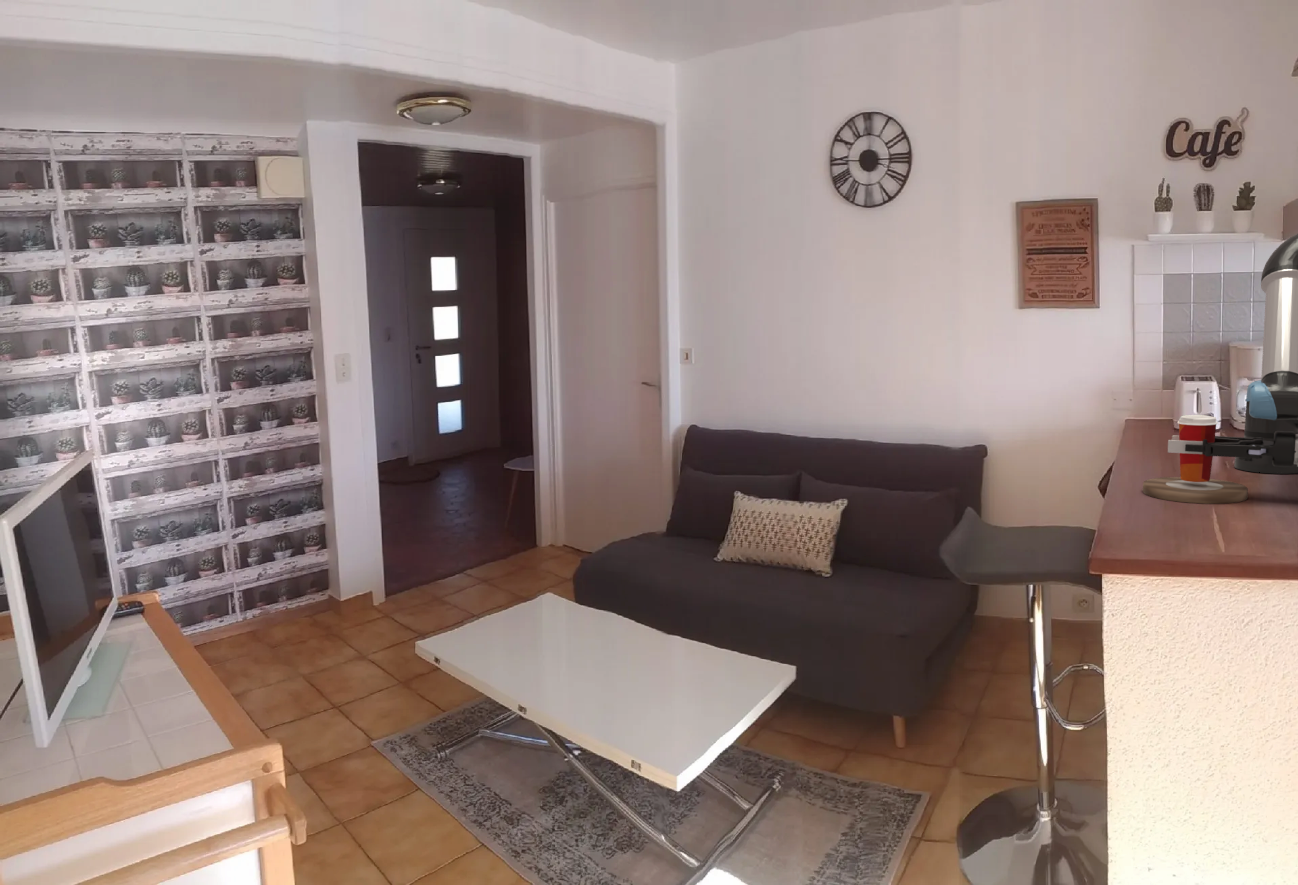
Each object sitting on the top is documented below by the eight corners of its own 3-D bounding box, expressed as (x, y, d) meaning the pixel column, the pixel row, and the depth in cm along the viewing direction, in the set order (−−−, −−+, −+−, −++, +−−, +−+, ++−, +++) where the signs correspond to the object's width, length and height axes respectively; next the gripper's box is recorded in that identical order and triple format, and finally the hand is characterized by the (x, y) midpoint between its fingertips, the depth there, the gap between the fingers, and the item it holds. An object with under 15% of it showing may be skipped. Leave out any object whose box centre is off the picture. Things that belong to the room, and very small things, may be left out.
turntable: (1148, 482, 217) (1149, 474, 217) (1249, 489, 205) (1249, 480, 205) (1136, 498, 201) (1137, 489, 200) (1245, 507, 189) (1245, 497, 189)
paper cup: (1204, 475, 206) (1207, 414, 204) (1222, 482, 198) (1225, 418, 196) (1168, 476, 207) (1170, 415, 205) (1184, 483, 199) (1187, 419, 197)
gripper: (1294, 475, 184) (1164, 467, 197) (1294, 460, 200) (1174, 453, 213) (1297, 438, 183) (1165, 432, 196) (1297, 425, 199) (1175, 421, 212)
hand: (1170, 443), depth 204 cm, fingers open, 7 cm apart
